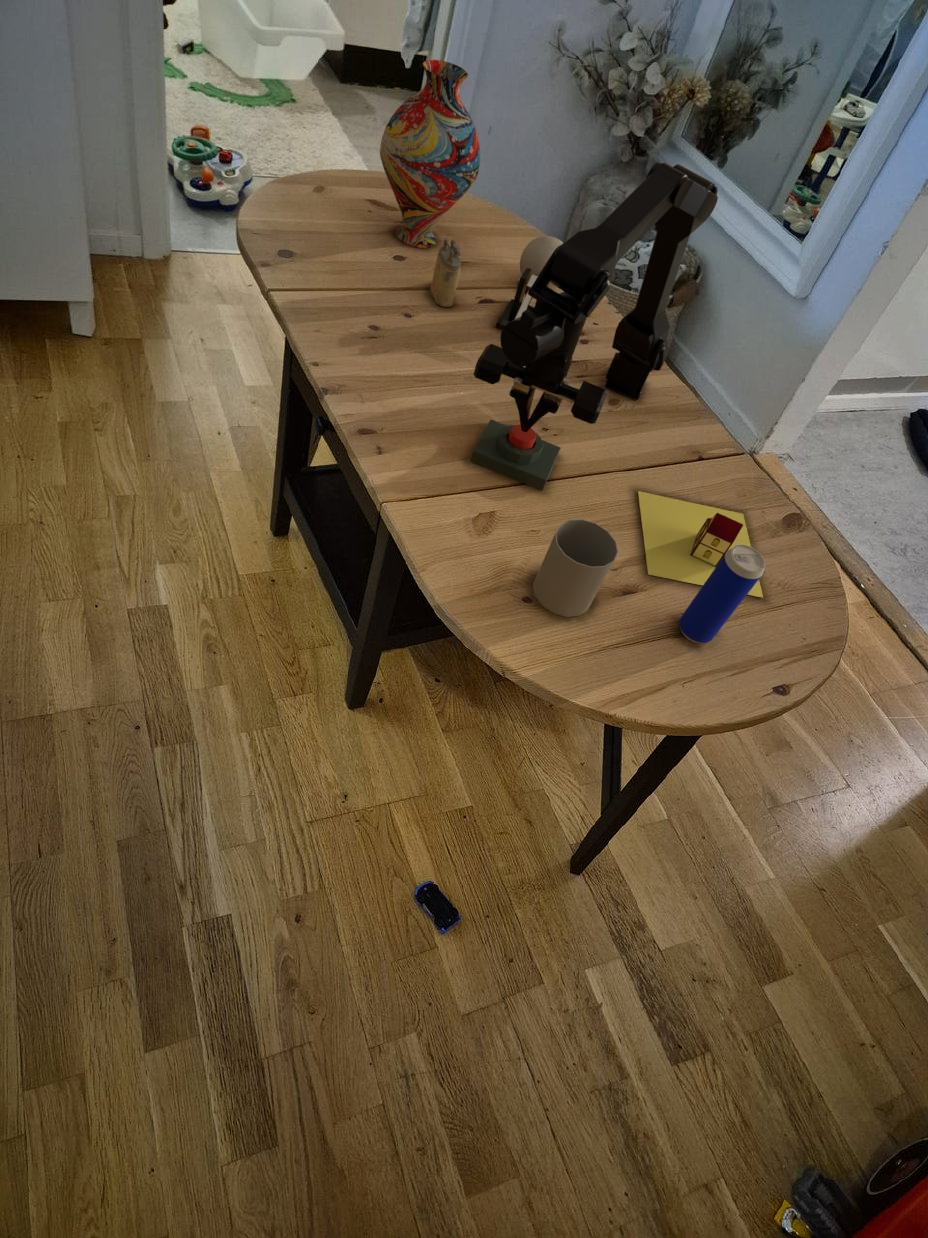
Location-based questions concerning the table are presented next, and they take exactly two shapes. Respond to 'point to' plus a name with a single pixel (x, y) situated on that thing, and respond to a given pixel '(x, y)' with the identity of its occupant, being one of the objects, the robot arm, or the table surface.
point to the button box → (515, 456)
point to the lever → (525, 301)
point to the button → (521, 438)
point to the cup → (574, 567)
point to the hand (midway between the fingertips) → (524, 430)
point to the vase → (430, 152)
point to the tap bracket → (517, 299)
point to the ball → (538, 255)
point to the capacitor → (446, 274)
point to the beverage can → (722, 593)
